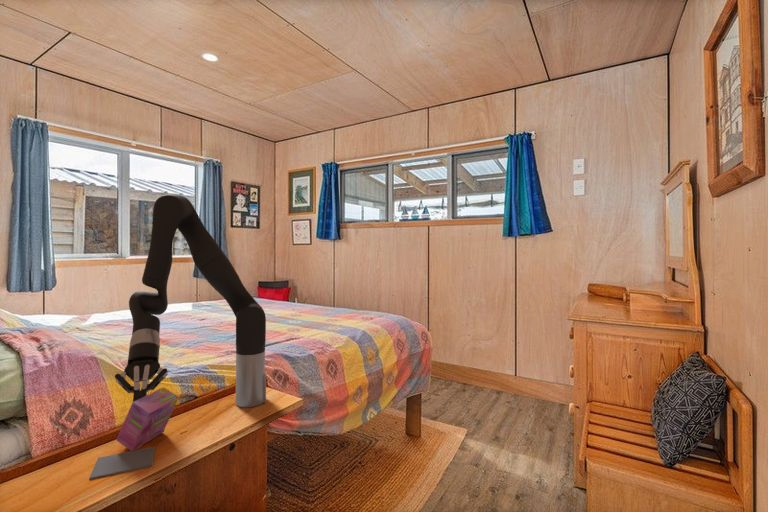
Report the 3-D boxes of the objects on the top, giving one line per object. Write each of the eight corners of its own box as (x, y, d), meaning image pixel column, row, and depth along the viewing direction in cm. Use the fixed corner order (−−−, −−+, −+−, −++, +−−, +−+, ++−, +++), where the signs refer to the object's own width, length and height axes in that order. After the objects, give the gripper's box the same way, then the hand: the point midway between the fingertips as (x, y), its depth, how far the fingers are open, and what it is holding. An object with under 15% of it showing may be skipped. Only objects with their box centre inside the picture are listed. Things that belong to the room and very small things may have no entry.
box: (132, 452, 95) (149, 413, 94) (115, 440, 96) (132, 401, 95) (164, 432, 105) (179, 396, 104) (148, 422, 106) (164, 386, 105)
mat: (155, 447, 97) (155, 446, 97) (152, 466, 89) (152, 464, 89) (98, 459, 91) (98, 457, 91) (89, 479, 83) (89, 478, 83)
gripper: (115, 343, 104) (106, 403, 94) (169, 339, 110) (167, 394, 100) (118, 357, 109) (110, 416, 99) (170, 352, 115) (168, 406, 105)
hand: (139, 405), depth 99 cm, fingers closed
